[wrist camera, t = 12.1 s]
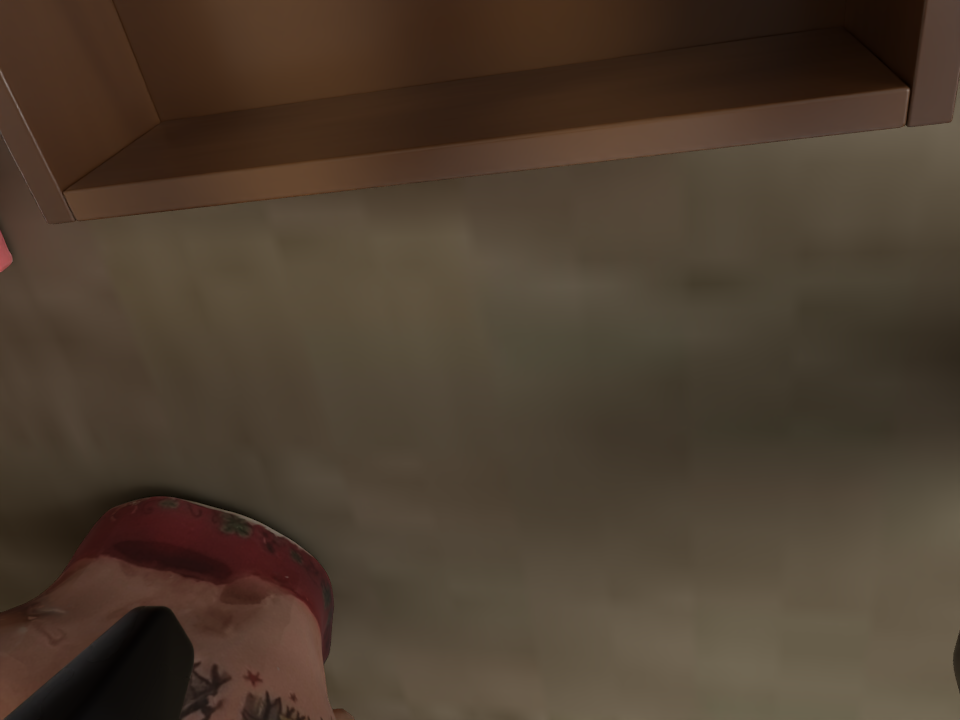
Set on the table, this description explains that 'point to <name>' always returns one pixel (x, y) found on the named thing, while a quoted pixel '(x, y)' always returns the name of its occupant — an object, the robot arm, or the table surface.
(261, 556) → the decorative planter
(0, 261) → the ink cartridge box
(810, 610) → the table surface
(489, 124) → the wooden tray
